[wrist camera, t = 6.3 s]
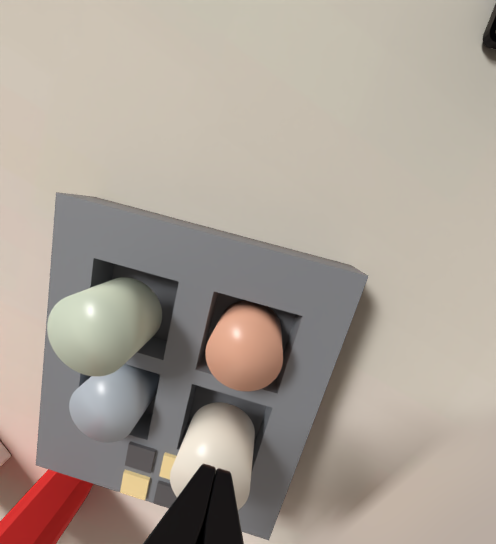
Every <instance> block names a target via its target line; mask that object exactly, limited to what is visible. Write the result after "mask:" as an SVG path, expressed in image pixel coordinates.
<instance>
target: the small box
mask: <svg viewBox="0 0 496 544" xmlns="http://www.w3.org/2000/svg"><path fill="white" fill-rule="evenodd" d="M10 457H11V454H10V453H9V452H8V450H7V449H6V448H5V447H4V445H3V444H2V443H1V442H0V466H1V465H3V464H4V463H5V462H6V461H7V460H8V459H9V458H10Z"/></svg>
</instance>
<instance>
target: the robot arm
mask: <svg viewBox="0 0 496 544" xmlns="http://www.w3.org/2000/svg"><path fill="white" fill-rule="evenodd" d="M495 30H496V4H495V7H494V10H493V12H492V15H491V17H490V20H489V22H488V25H487V27H486V30H485V32H484V35H483V43H484V44H485V46H486V47H489V48H492V49H496V34H495ZM143 544H244V542H243V536H242V531H241V525H240V520H239V514H238V508H237V503H236V497H235V491H234V486H233V480H232V475H231V473H230V471H227V470H224V469H220V468H218V469H217V470H216V468H215V467H214V466H211V465H208V464H202V465H201V466H200V467H199V468H198V470H197V471H196V473H195V474H194V475H193V477H192V478H191V479H190V481H189V482H188V483H187V485H186V486H185V488H184V489H183V490H182V492H181V493H180V494H179V496H178V497H177V498H176V500H175V501H174V503H173V504H172V505H171V507H170V508H169V509H168V511H167V512H166V513H165V515H164V516H163V518H162V519H161V520H160V522H159V523H158V524H157V526H156V527H155V528H154V530H153V531H152V533H151V534H150V535H149V537H148V538H147V539H146V541H145V542H144V543H143Z"/></svg>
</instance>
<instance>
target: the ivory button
mask: <svg viewBox="0 0 496 544" xmlns="http://www.w3.org/2000/svg"><path fill="white" fill-rule="evenodd" d="M254 438H255V429H254V425H253V423H252V421H251V419H250V418H249V416H248V415H247V414H246V413H245V412H244V411H243V410H241V409H240V408H238V407H236V406H234V405H231V404H228V403H222V402H216V403H210V404H207V405H205V406H203V407H201V408H200V409H199V410H198V411H197V412H196V413H195V414H194V416H193V418H192V420H191V423H190V425H189V427H188V430H187V432H186V435H185V437H184V440H183V442H182V444H181V447H180V449H179V452H178V454H177V457H176V459H175V461H174V464H173V466H172V469H171V472H170V484H171V487H172V490H173V492H174V494H175V495H176V497H178V496H179V494H180V493H181V492H182V490H183V489H184V488H185V486H186V485H187V483H188V482H189V481H190V479H191V478H192V477H193V475H194V474H195V473H196V471H197V470H198V468H199V467H200V466H201V465H202V464H208V465H211V466H214V467H215V468H216V470H217V469H218V468H220V469H224V470H227V471H230V473H231V475H232V480H233V486H234V491H235V497H236V503H237V508H238V510H239V509H240V508H241V507H242V506H243V505H244V504H245V503H246V501H247V499H248V497H249V493H250V482H251V471H252V460H253V449H254Z"/></svg>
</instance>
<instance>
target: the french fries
mask: <svg viewBox="0 0 496 544" xmlns="http://www.w3.org/2000/svg"><path fill="white" fill-rule="evenodd" d="M92 486H93V483H90V482H86V481H83V480H80V479H77V478H74V477H71V476H68V475H65V474H62V473H59V472H55V471H52V470H49V469H48V470H47V471H46V473H45V474H44V475H43V476H42V477H41V478H40V479H39V480H38V481H37V482H36V483H35V484H34V486H33V487H32V488H31V489H30V490H29V491H28V492H27V493H26V494H25V495H24V496H23V497H22V499H21V500H20V501H19V502H18V503H17V504H16V505H15V506H14V507H13V508H12V509H11V510H10V511H9V513H8V514H7V515H6V516H5V517H4V518H3V519H2V520H1V521H0V544H56V543H57V541H58V540H59V538H60V537H61V535H62V534H63V532H64V531H65V529H66V528H67V526H68V525H69V523H70V522H71V520H72V519H73V517H74V516H75V514H76V513H77V511H78V510H79V508H80V507H81V505H82V504H83V502H84V500H85V499H86V497H87V495H88V494H89V492H90V490H91V488H92Z"/></svg>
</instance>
